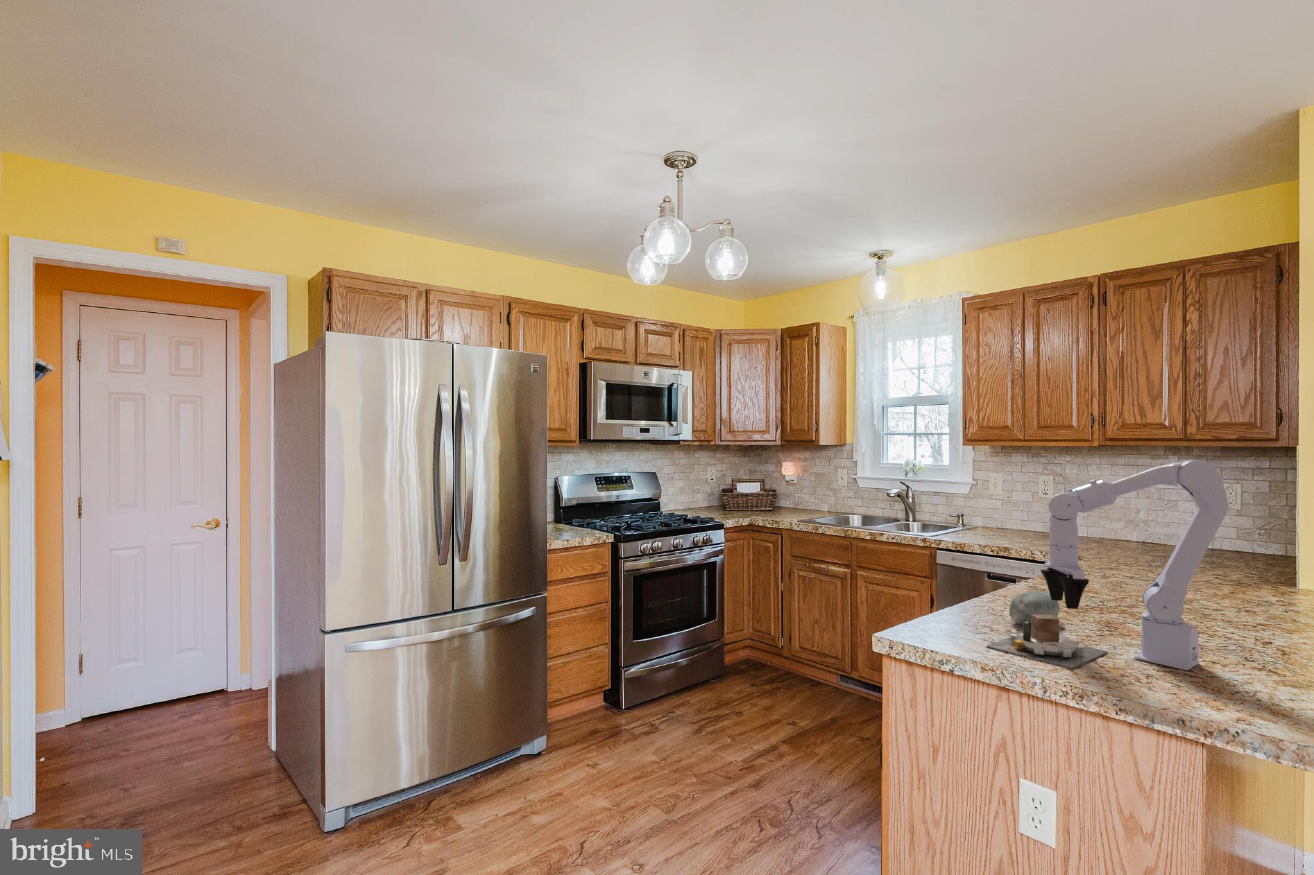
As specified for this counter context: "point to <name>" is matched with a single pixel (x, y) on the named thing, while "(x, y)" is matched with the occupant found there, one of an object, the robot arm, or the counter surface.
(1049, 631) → the link block
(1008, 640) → the plate
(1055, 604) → the grey oval stone
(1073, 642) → the sprocket
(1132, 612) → the counter surface
